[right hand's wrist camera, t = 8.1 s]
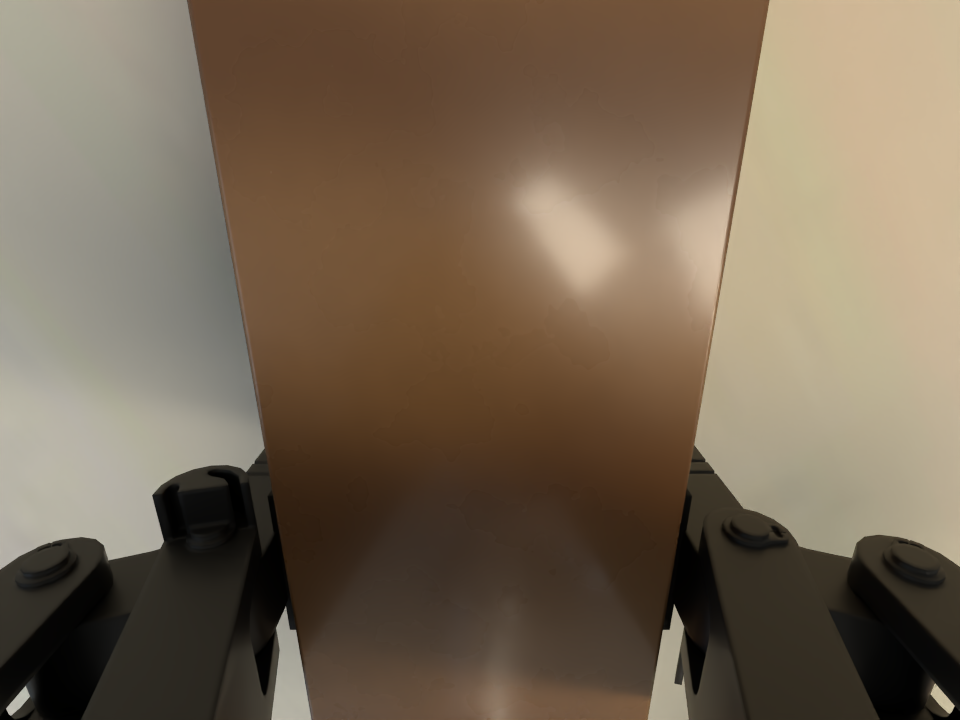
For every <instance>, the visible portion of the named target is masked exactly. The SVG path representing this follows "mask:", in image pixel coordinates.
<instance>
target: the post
mask: <svg viewBox="0 0 960 720" xmlns="http://www.w3.org/2000/svg"><path fill="white" fill-rule="evenodd" d="M187 2H188V8H189V14H190V20H191V25H192V31H193V37H194V43H195V48H196V54H197V60H198V66H199V71H200V77H201V83H202V89H203V95H204V100H205V106H206V112H207V118H208V123H209V129H210V135H211V141H212V147H213V152H214V158H215V164H216V170H217V175H218V181H219V187H220V193H221V199H222V204H223V210H224V216H225V222H226V227H227V233H228V239H229V245H230V251H231V256H232V262H233V268H234V274H235V279H236V285H237V291H238V297H239V302H240V308H241V314H242V320H243V326H244V331H245V337H246V343H247V349H248V354H249V360H250V366H251V372H252V378H253V383H254V389H255V395H256V401H257V406H258V412H259V418H260V424H261V430H262V435H263V441H264V447H265V453H266V458H267V464H268V470H269V476H270V481H271V487H272V493H273V499H274V505H275V510H276V516H277V522H278V528H279V533H280V539H281V545H282V551H283V557H284V562H285V568H286V574H287V580H288V585H289V591H290V597H291V603H292V609H293V614H294V620H295V626H296V632H297V637H298V643H299V649H300V655H301V661H302V666H303V672H304V678H305V684H306V689H307V695H308V701H309V707H310V712H311V718H312V720H648V714H649V708H650V702H651V696H652V690H653V684H654V678H655V672H656V666H657V660H658V655H659V649H660V643H661V637H662V631H663V625H664V619H665V613H666V607H667V601H668V596H669V590H670V584H671V578H672V572H673V566H674V560H675V554H676V548H677V542H678V537H679V531H680V525H681V519H682V513H683V507H684V501H685V495H686V489H687V483H688V478H689V472H690V466H691V460H692V454H693V448H694V442H695V436H696V430H697V424H698V419H699V413H700V407H701V401H702V395H703V389H704V383H705V377H706V371H707V365H708V359H709V354H710V348H711V342H712V336H713V330H714V324H715V318H716V312H717V306H718V300H719V295H720V289H721V283H722V277H723V271H724V265H725V259H726V253H727V247H728V241H729V236H730V230H731V224H732V218H733V212H734V206H735V200H736V194H737V188H738V182H739V177H740V171H741V165H742V159H743V153H744V147H745V141H746V135H747V129H748V123H749V117H750V112H751V106H752V100H753V94H754V88H755V82H756V76H757V70H758V64H759V58H760V53H761V47H762V41H763V35H764V29H765V23H766V17H767V11H768V5H769V0H187Z"/></svg>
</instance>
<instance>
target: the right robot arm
mask: <svg viewBox="0 0 960 720" xmlns="http://www.w3.org/2000/svg"><path fill="white" fill-rule="evenodd" d="M152 496H153V500H154V504H155V508H156V512H157V516H158V519H159V523H160V527H161V531H162V535H163V538H164V543H163V545H162V547H161V549H159V550H155V551H151V552H147V553H142V554H138V555H133V556H128V557H123V558H118V559H114V560H109V561H108V558H107V555H106V552H105V548H104V545H102V544H101V543H100V542H99V541H97V540H96V539H90V538H83V537H80V538H72V539H64V540H59V541H55V542H53V543H48V544H45V545H42V546H39V547H37V548H36V549H34V550H32V551H30V552H28V553H26V554H24V555H21V556H19V557H18V558H17V559H15V560H14V561H12V562H11V563H9V564H8V565H6V566H5V567H4V568H2V569H1V570H0V720H271V717H272V708H273V700H274V692H275V683H276V675H277V667H278V658H279V643H278V637H277V631H276V627H277V624H278V622H279V620H280V618H281V615H282V613H283V611H284V609H285V606H286V608H287V614H288V620H289V626H290V630H296V626H295V620H294V614H293V609H292V603H291V597H290V591H289V585H288V580H287V574H286V568H285V562H284V557H283V551H282V545H281V539H280V533H279V528H278V522H277V516H276V510H275V505H274V499H273V493H272V487H271V481H270V476H269V470H268V464H267V458H266V453H265V449H264V450H263V451H262V453H261V454H260V455H259V456H258V458H257V459H256V460H255V464H252V466H251V467H250V468H249V469H248V471H247V472H245V471H243V470H242V469H241V468H238V467H233V466H229V465H220V466H208V467H203V468H198V469H194V470H191V471H188V472H186V473H183V474H181V475H178V476H176V477H174V478H172V479H171V480H169V481H168V482H166V483H164V484H163V485H161V486H160V487H159V489H158V490H157V491H156V492H155V493H154V494H153V495H152ZM674 605H675V607H676V609H677V611H678V613H679V616H680V618H681V620H682V622H683V625H684V631H683V637H682V642H681V647H680V653H679V658H678V664H677V669H676V676H675V684H680V685H682V680H683V674H684V682H685V690H686V699H687V707H688V715H689V720H960V567H959V566H958V565H956V564H955V563H953V562H952V561H950V560H949V559H948V558H946V557H945V556H943V555H942V554H940V553H938V552H936V551H934V550H932V549H929V548H927V547H925V546H924V545H922V544H920V543H917V542H914V541H911V540H910V541H909V540H908V539H904V538H899V537H892V536H884V535H874V536H867V537H864V538H863V539H861V540H860V541H859V542H857V544H856V547H855V550H854V553H853V557H852V558H848V557H843V556H838V555H833V554H829V553H824V552H819V551H814V550H810V549H806V548H802V547H799V546H798V544H797V542H796V540H795V539H794V537H793V536H792V535H791V533H790V532H789V531H788V530H787V529H786V528H785V527H783V526H782V525H781V524H779V523H778V522H776V521H775V520H774V519H771V518H769V517H767V516H765V515H762V514H760V513H758V512H754V511H750V510H746V509H743V507H742V506H741V505H740V504H739V502H738V501H737V500H736V498H735V497H734V496H733V495H732V493H731V492H730V491H729V489H728V488H727V487H726V486H725V484H724V483H723V482H722V480H721V479H720V478H719V477H718V475H717V474H714V470H713V469H712V468H711V466H710V465H709V464H708V462H705V459H704V457H703V456H702V455H701V453H700V452H699V451H698V450H697V448H696V447H695V446H694V448H693V454H692V460H691V466H690V472H689V478H688V483H687V489H686V495H685V501H684V507H683V513H682V519H681V525H680V531H679V537H678V542H677V548H676V554H675V560H674V566H673V572H672V578H671V584H670V590H669V596H668V601H667V607H666V613H665V619H664V625H663V630H670V624H671V618H672V612H673V606H674ZM935 683H936V685H937V686H938V687H939V688H940V689H941V690H942V691H943V693H944V694H945V695H946V696H947V697H948V698H949V699H950V701H951V702H952V703H953V704H954V705H955V707H954V709H953V711H952V712H951V714H949V713H947V712H946V711H945V710H944V709H943V708H942V707H941V706H940V705H939V704H938V703H937V702H936V700H935V699H934V698H933V697H932V696H931V695H930V693H931V691H932V689H933V686H934V684H935ZM25 686H26V687H27V690H28V692H29V694H30V697H29V698H28V700H27V701H26V702H25V703H24V704H23V706H22V707H21V708H20V709H19V710H17V711H16V712H15V713H14V714H13V715H12V716H10V715H9V714H8V712H7V710H6V708H7V707H8V705H9V704H10V703H11V702H12V701H13V700H14V698H15V697H16V696H17V695H18V694H19V693H20V692H21V690H22V689H23V688H24V687H25Z"/></svg>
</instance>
